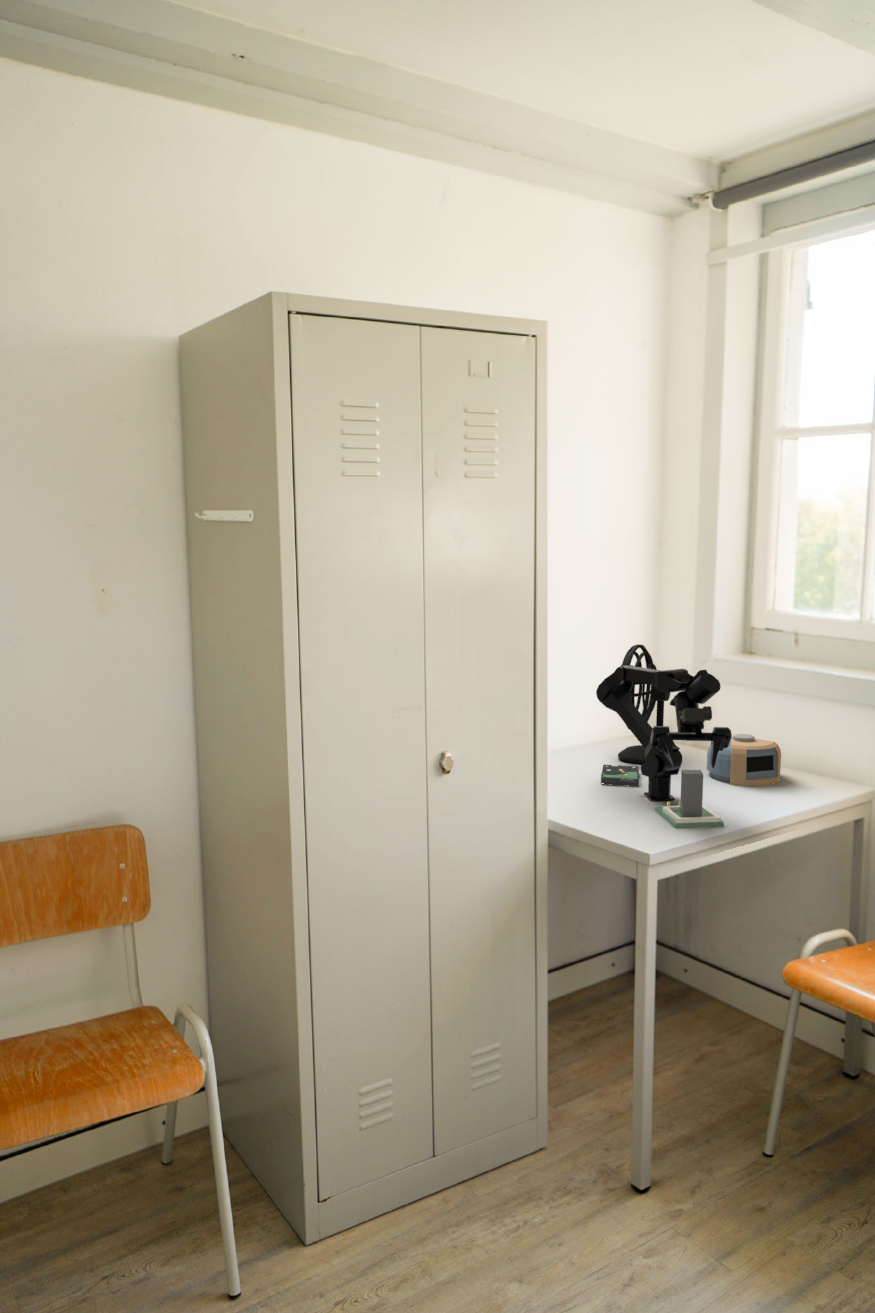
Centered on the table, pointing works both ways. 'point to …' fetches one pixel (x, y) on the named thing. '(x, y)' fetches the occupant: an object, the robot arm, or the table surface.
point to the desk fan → (655, 694)
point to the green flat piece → (677, 821)
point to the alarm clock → (747, 762)
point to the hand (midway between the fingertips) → (693, 766)
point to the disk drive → (620, 775)
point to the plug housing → (691, 793)
